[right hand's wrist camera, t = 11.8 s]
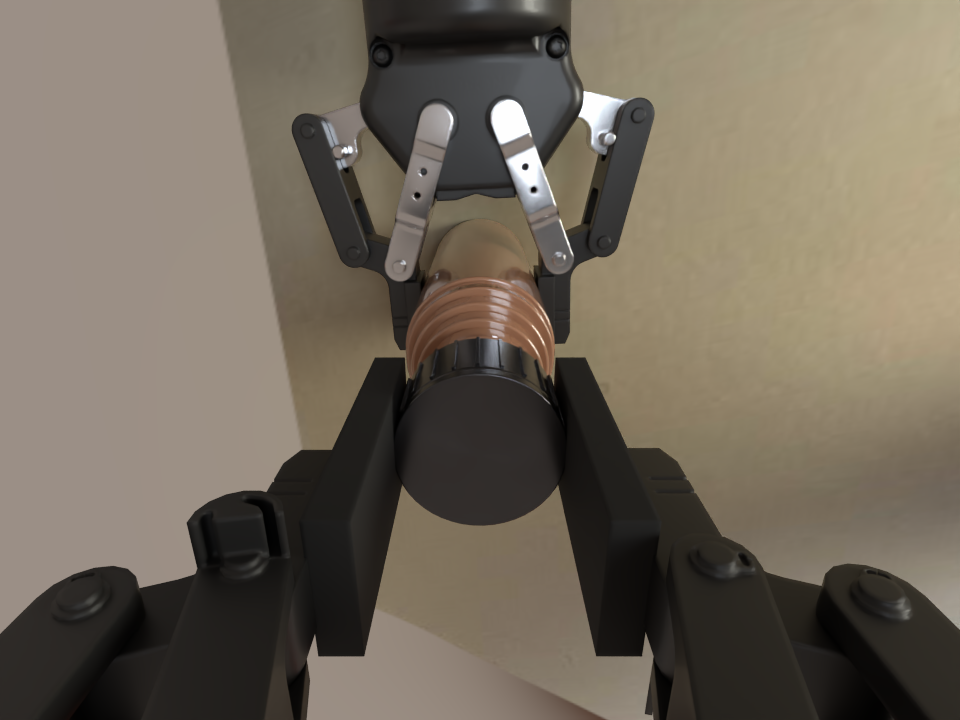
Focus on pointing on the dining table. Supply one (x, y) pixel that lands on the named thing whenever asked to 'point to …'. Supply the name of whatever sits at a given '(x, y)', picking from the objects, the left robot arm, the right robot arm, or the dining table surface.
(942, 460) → the dining table surface
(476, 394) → the cap
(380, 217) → the dining table surface
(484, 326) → the bottle
